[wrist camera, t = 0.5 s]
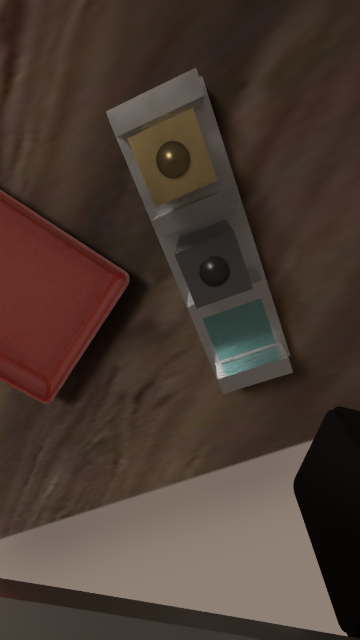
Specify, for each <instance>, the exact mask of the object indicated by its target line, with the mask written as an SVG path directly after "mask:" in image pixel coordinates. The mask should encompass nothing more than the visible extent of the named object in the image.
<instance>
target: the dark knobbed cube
mask: <svg viewBox="0 0 360 640" xmlns="http://www.w3.org/2000/svg"><path fill="white" fill-rule="evenodd" d="M174 255H175V257H176V259H177V262H178V264H179V267H180V269H181V272H182V274H183V277H184V279H185V282H186V284H187V287H188V289H189V291H190V294H191V296H192V299H193V301H194V304H195V306H196V309H197V308H200V307H203V306H206V305H209V304H211V303H214V302H217V301H220V300H223V299H225V298H228V297H231V296H234V295H237V294H240V293H242V292H245V291H248V290H251V289H253V286H252V283H251V280H250V277H249V274H248V271H247V268H246V265H245V262H244V259H243V256H242V253H241V250H240V247H239V244H238V241H237V238H236V235H235V232H234V230H233V229H232V227H231V226H230V224H229V223H228V222H227V220H226V219H225V220H223V221H220V222H218V223H215V224H213V225H210V226H208V227H205V228H203V229H200V230H198V231H195V232H193V233H190V234H188V235H185V236H183V237H180V238H179V239H178V243H177V246H176V250H175V254H174Z"/></svg>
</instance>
